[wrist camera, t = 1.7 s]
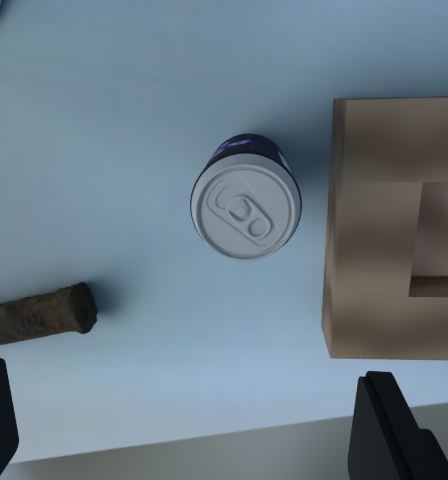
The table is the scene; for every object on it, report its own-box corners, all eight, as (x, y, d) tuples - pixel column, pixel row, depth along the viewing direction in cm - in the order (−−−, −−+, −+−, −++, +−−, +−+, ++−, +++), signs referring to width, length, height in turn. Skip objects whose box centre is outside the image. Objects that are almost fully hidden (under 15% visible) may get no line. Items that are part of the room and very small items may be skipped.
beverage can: (250, 115, 31) (248, 128, 19) (302, 173, 32) (329, 218, 20) (194, 169, 32) (162, 211, 21) (245, 223, 33) (241, 290, 22)
